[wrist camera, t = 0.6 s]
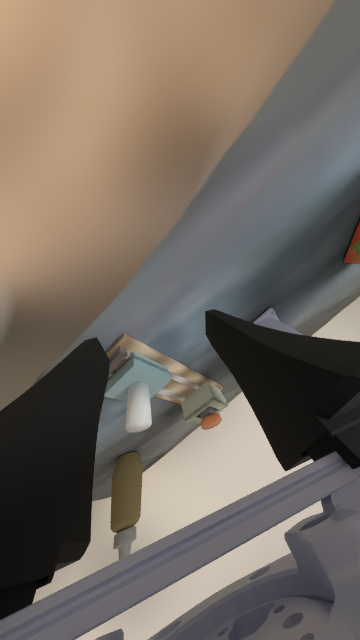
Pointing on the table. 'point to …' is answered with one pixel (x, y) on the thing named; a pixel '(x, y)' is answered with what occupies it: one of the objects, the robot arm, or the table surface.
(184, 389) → the rail track
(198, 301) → the table surface
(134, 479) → the squeeze bottle
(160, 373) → the carriage
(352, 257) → the cracker box
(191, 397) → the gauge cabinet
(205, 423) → the button
